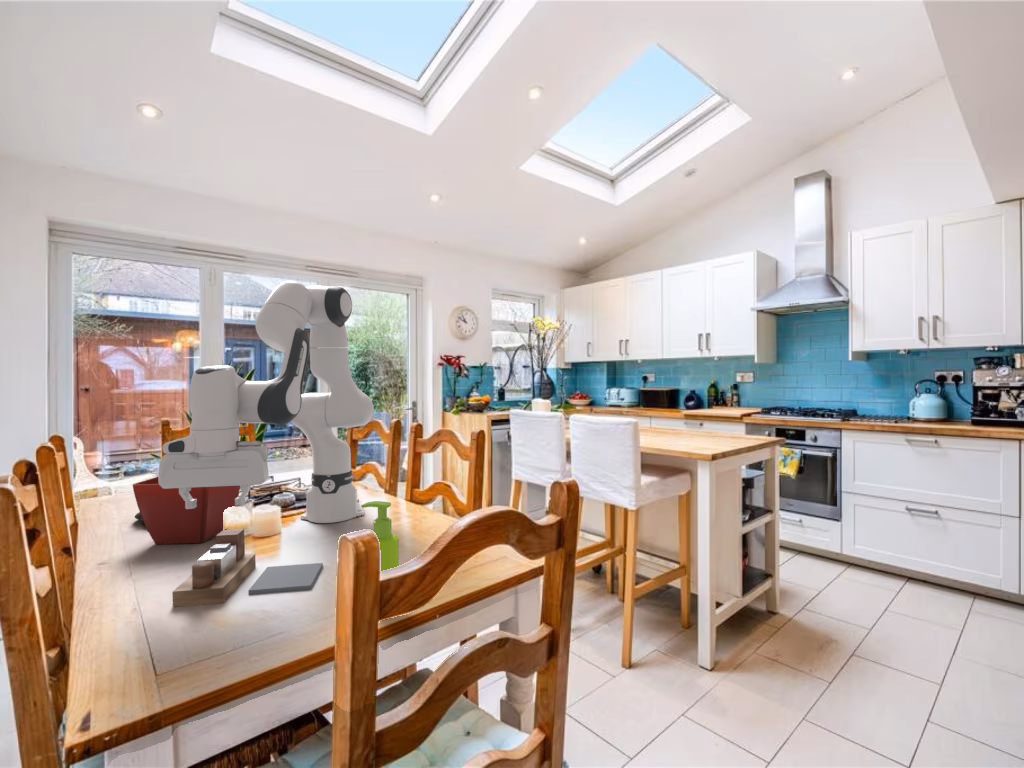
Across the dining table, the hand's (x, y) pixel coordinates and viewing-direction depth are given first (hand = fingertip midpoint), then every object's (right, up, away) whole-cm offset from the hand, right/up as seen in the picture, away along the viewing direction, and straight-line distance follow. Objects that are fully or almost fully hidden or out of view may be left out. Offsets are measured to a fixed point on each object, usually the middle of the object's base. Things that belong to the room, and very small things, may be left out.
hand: (215, 507), depth 101 cm
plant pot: (-26, -16, +31) cm, 44 cm away
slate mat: (+14, -17, +3) cm, 22 cm away
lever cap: (0, -14, +1) cm, 14 cm away
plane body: (0, -17, +1) cm, 17 cm away
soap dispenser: (+37, -17, -9) cm, 42 cm away
